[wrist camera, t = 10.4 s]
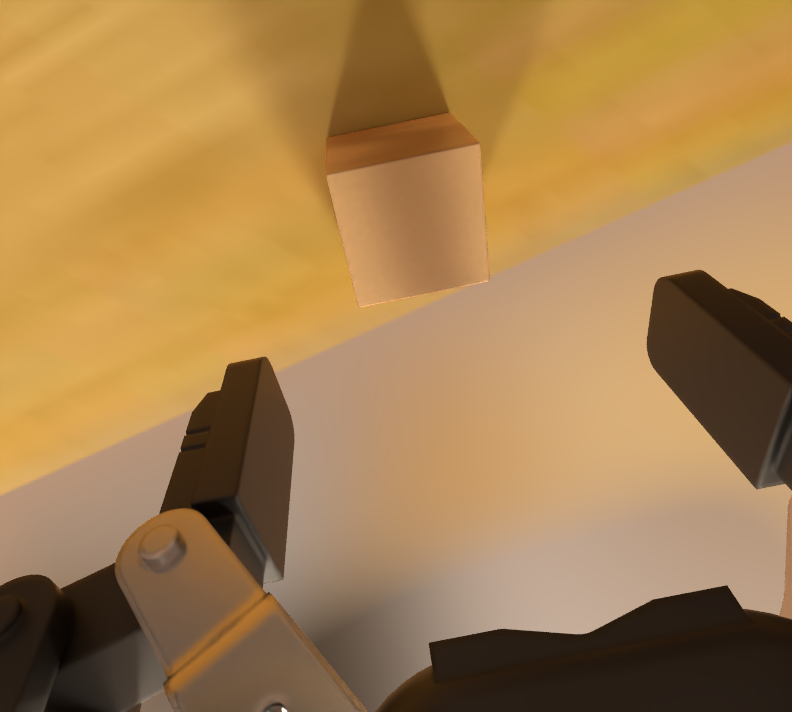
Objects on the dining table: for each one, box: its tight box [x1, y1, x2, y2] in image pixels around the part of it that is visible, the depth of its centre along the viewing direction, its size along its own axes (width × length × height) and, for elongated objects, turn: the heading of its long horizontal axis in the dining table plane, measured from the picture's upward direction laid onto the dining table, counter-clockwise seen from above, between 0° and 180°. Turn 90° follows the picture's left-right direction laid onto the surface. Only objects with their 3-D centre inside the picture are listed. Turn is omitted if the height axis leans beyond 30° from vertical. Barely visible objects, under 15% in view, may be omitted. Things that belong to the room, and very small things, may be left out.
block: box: [326, 113, 490, 307], centre depth 18 cm, size 5×5×5 cm
